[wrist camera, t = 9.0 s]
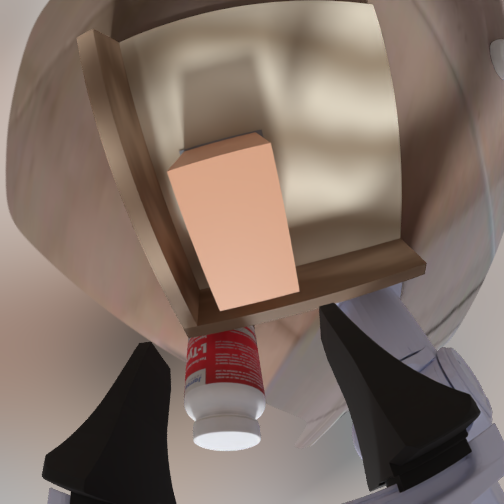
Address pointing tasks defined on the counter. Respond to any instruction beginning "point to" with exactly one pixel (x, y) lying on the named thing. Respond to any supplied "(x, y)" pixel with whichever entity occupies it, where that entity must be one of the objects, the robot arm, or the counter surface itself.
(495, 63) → the bottle
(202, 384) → the pill bottle
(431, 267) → the counter surface
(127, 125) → the tray
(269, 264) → the block
